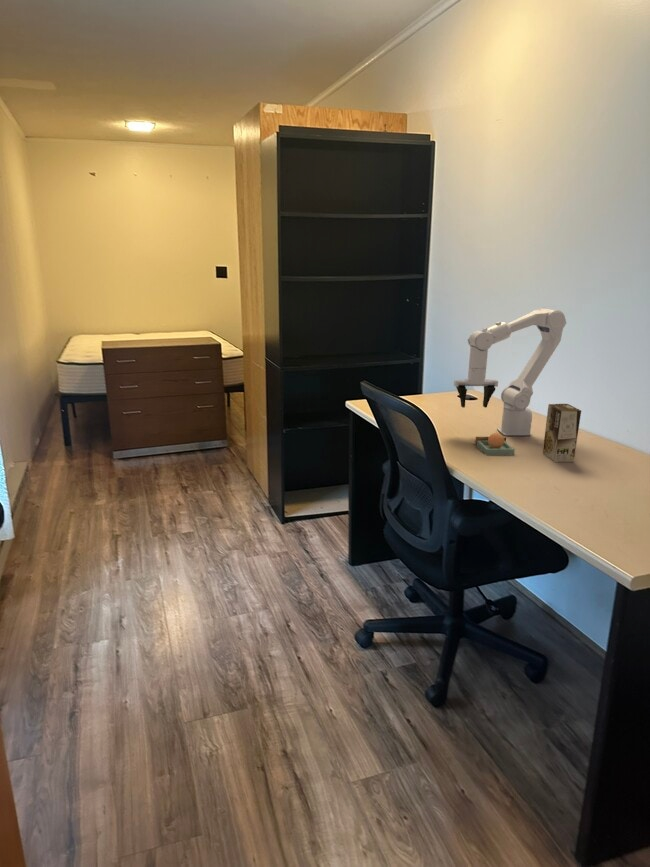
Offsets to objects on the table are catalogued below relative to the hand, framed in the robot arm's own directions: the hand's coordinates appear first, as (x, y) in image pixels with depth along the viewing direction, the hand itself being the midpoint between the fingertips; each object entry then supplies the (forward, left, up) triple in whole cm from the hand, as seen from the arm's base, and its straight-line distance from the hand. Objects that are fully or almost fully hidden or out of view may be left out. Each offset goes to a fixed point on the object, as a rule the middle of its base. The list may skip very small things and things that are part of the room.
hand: (473, 406), depth 202 cm
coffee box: (-20, +24, -10) cm, 33 cm away
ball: (-2, +17, -9) cm, 19 cm away
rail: (-3, +11, -10) cm, 15 cm away
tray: (-3, +17, -10) cm, 20 cm away
